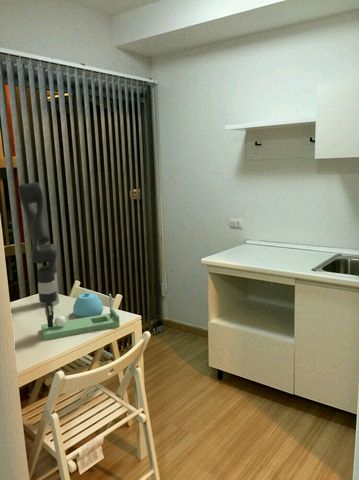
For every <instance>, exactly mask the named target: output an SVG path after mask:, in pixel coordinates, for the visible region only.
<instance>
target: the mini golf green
mask: <svg viewBox="0 0 359 480" xmlns="http://www.w3.org/2000/svg"><path fill="white" fill-rule="evenodd" d="M111 310H112V318H110V312H109V313H104V314H103V313H102V314H100V315H97V316H91V317H85V318H79V317H78V318H76V319H69V320H66V323H65V325H64V326H62V327H58V326H56V325H55V322H53V327H51V328H48V323H45V324H41V325H40V326H41V332H42V333H41V334H42V336H43V340H44V341H47V340H52V339H53V340H54V339H58V338H65V337H68V336H74V335H79V334H85V333H90V332H96V331H97V332H98V331H102V330H107V329H112V328H118V327H120V315H119V314H118V313H117V312H116V310H115V309H114V308H113V307H111Z"/></svg>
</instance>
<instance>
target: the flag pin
mask: <svg viewBox="0 0 359 480" xmlns="http://www.w3.org/2000/svg"><path fill="white" fill-rule="evenodd" d="M108 296H109V298H108V299H109V313H110V318H112V310H111V308H112V301H113V296H112V294H111V293H108Z"/></svg>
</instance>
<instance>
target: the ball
mask: <svg viewBox="0 0 359 480" xmlns="http://www.w3.org/2000/svg"><path fill="white" fill-rule="evenodd" d="M66 321H67V319H66V318H65V316H63V315H58V316H57V317H56V318H55V319H54V323H55V325H56V326H58V327H62V326H64V325H65V323H66Z"/></svg>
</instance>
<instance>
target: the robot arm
mask: <svg viewBox="0 0 359 480" xmlns="http://www.w3.org/2000/svg"><path fill="white" fill-rule="evenodd" d="M17 190H18V195H19V200H20V203H21V205H22V208H23V212H24V215H25V219H26V220H25V221H26V224H27V229H28V231H29V235H30V240H31V244H32V249H31V260H32V261H33V263H35V264H44V263H47V264H46V265H44V266H41V267H39V268H38V269H37V273H36V274H37V281H38V282H37V288H38V289H37V290H38V300H39V302H40V304H41V305H42V306H43V308H44V314H45V317H46V320H47V322H46V323H47V324H48V328H51V327H53V323H54V321H53V320H55V319H54V314H55V313H54V312H55V311H54V309H55V307H54V306H55V305H57V304H60V299H59V297H60V295H59V285H58V284H59V283H58V274H57V271H58V270H57V256H58V253H57V252H58V251H57V249H56V246H55V244H54V243H49V241H50V238H51V237H50V233H49V227H48V222H47V220H48V219H47V204H46V193H45V188H44V185H43V183H41V182H40V181H39V182H30V183H21V184H20V185H18V189H17ZM36 203H38V207H37V209H36V208H34V207H33V206H32V204H36Z"/></svg>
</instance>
